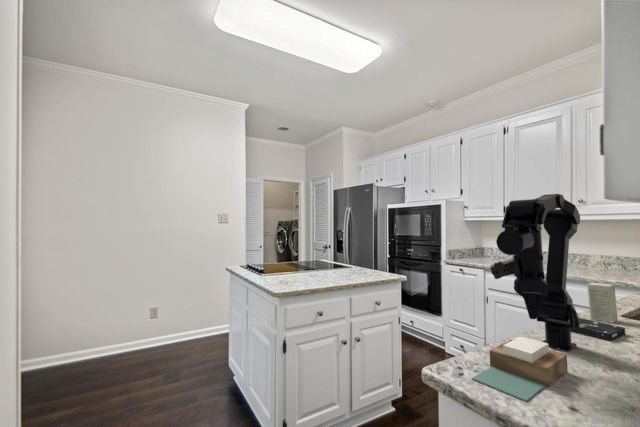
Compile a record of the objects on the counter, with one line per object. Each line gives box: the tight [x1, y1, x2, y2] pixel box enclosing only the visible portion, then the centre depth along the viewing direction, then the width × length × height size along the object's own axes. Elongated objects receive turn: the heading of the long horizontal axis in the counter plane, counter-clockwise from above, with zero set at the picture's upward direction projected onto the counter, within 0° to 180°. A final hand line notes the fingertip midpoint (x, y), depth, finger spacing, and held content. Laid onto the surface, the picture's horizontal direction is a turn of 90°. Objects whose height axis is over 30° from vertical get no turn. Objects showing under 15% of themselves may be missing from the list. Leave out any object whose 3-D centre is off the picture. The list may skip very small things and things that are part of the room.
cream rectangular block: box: [503, 336, 550, 363], centre depth 73 cm, size 9×6×2 cm, turn 124°
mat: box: [471, 366, 546, 403], centre depth 68 cm, size 9×11×1 cm
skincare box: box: [587, 282, 619, 324], centre depth 106 cm, size 6×4×12 cm
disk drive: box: [571, 317, 626, 343], centre depth 97 cm, size 10×3×15 cm
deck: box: [488, 339, 569, 389], centre depth 73 cm, size 11×12×4 cm
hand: (532, 313), depth 77 cm, fingers open, 9 cm apart
